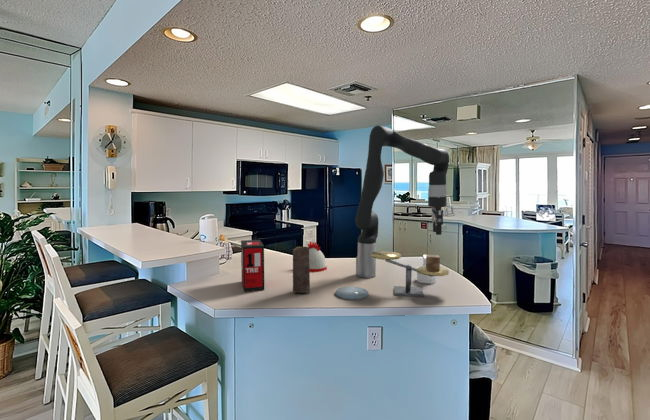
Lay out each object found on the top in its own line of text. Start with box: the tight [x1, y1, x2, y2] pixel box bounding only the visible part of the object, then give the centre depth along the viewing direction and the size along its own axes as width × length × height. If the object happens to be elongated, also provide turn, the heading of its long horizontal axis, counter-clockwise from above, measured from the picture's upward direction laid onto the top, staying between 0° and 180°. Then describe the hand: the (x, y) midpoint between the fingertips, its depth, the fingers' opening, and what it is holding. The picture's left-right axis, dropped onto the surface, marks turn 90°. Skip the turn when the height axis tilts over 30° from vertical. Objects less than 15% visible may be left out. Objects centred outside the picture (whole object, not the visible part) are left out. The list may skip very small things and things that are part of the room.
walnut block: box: [425, 254, 441, 272], centre depth 150 cm, size 5×5×6 cm
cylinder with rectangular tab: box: [416, 254, 437, 284], centre depth 170 cm, size 9×9×12 cm
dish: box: [335, 286, 369, 301], centre depth 150 cm, size 14×14×1 cm
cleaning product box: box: [240, 239, 265, 293], centre depth 161 cm, size 16×9×20 cm, turn 17°
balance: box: [371, 250, 450, 298], centre depth 152 cm, size 33×13×16 cm, turn 80°
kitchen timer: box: [307, 241, 328, 273], centre depth 193 cm, size 14×14×15 cm
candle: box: [292, 246, 311, 294], centre depth 152 cm, size 8×7×20 cm
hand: (437, 233), depth 151 cm, fingers open, 8 cm apart
